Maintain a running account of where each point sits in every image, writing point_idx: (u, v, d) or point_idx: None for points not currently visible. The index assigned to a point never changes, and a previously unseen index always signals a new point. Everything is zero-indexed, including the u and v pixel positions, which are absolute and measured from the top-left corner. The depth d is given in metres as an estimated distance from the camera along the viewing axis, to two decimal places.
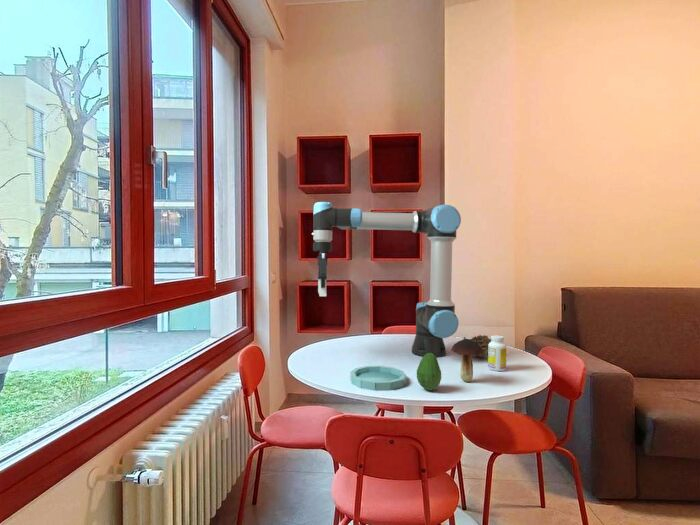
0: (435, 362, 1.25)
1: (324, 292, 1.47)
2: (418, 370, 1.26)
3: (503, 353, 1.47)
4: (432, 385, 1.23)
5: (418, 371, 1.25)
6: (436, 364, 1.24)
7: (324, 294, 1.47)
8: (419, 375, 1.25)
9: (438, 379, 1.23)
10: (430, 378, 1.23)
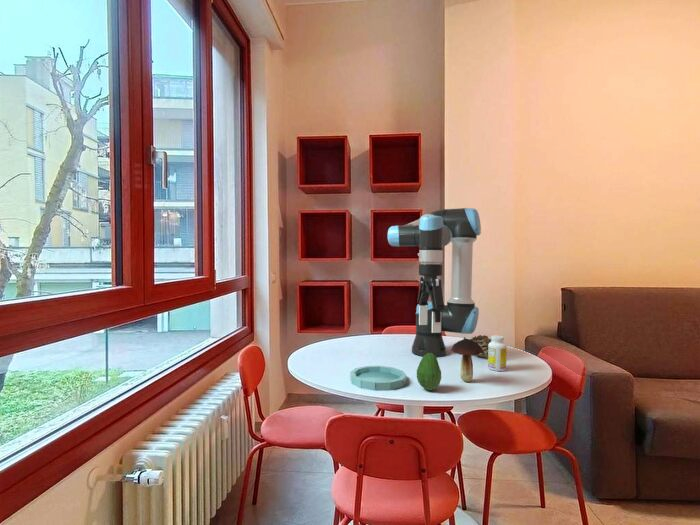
0: (435, 362, 1.25)
1: (438, 327, 1.19)
2: (418, 370, 1.26)
3: (503, 353, 1.47)
4: (432, 385, 1.23)
5: (418, 371, 1.25)
6: (436, 364, 1.24)
7: (438, 330, 1.19)
8: (419, 375, 1.25)
9: (438, 379, 1.23)
10: (430, 378, 1.23)
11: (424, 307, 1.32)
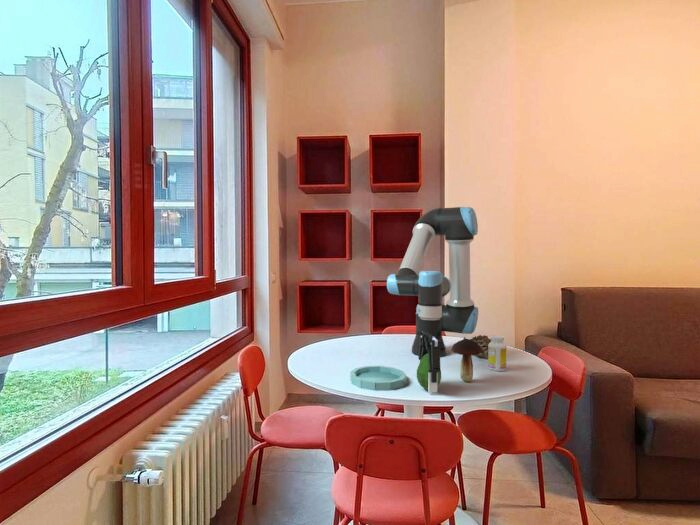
0: None
1: (435, 387, 1.22)
2: (418, 370, 1.26)
3: (503, 353, 1.47)
4: None
5: (418, 371, 1.25)
6: None
7: (435, 390, 1.22)
8: (419, 375, 1.25)
9: (438, 379, 1.23)
10: None
11: None
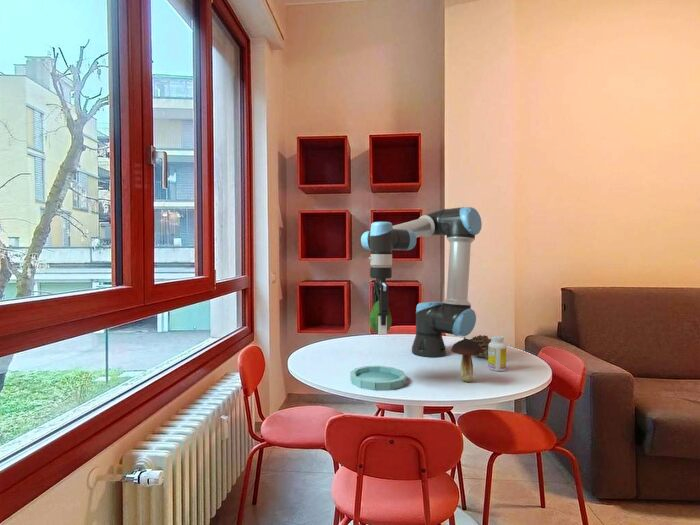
0: None
1: (384, 330, 1.30)
2: (370, 315, 1.33)
3: (503, 353, 1.47)
4: None
5: (370, 316, 1.33)
6: None
7: (384, 332, 1.30)
8: (370, 320, 1.32)
9: (388, 323, 1.31)
10: None
11: None
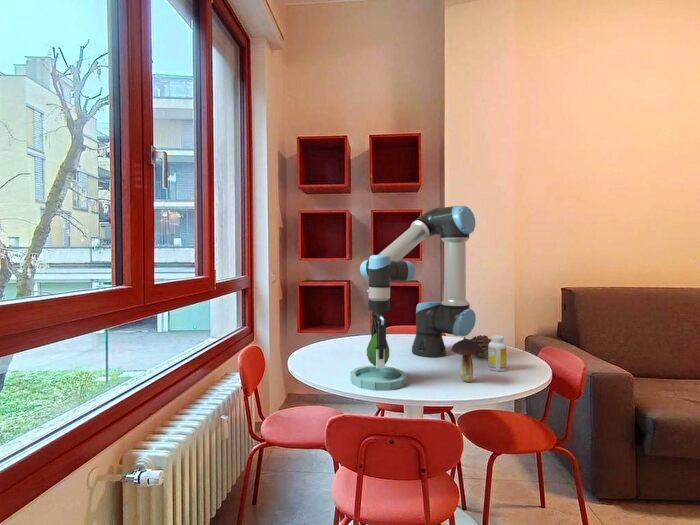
0: None
1: (382, 363, 1.30)
2: (368, 348, 1.34)
3: (503, 353, 1.47)
4: None
5: (368, 349, 1.34)
6: None
7: (382, 366, 1.30)
8: (368, 352, 1.33)
9: (385, 356, 1.32)
10: None
11: None
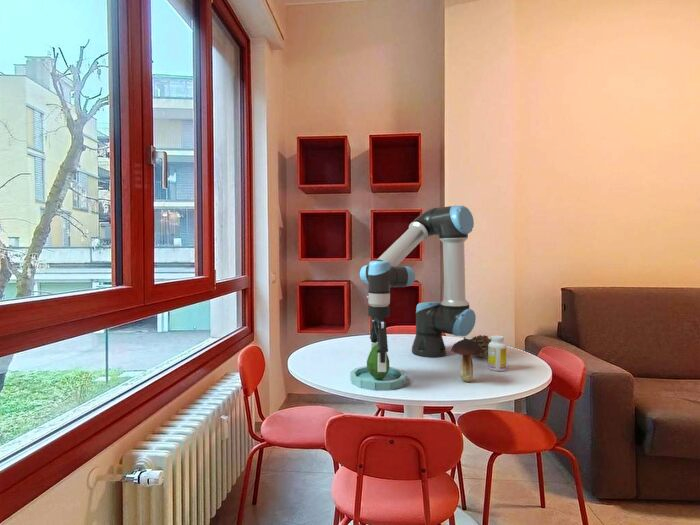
0: None
1: (384, 367, 1.28)
2: (368, 360, 1.34)
3: (503, 353, 1.47)
4: (380, 373, 1.31)
5: (368, 361, 1.34)
6: None
7: (384, 369, 1.28)
8: (368, 364, 1.33)
9: (386, 368, 1.32)
10: None
11: (375, 344, 1.41)
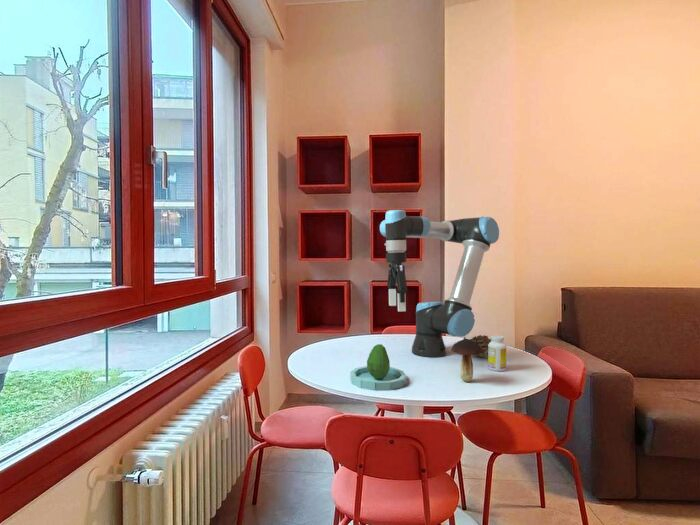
0: (383, 352, 1.33)
1: (403, 307, 1.38)
2: (368, 360, 1.34)
3: (503, 353, 1.47)
4: (380, 374, 1.31)
5: (368, 361, 1.34)
6: (384, 354, 1.33)
7: (403, 309, 1.38)
8: (368, 365, 1.33)
9: (386, 368, 1.32)
10: (378, 368, 1.31)
11: (393, 290, 1.51)
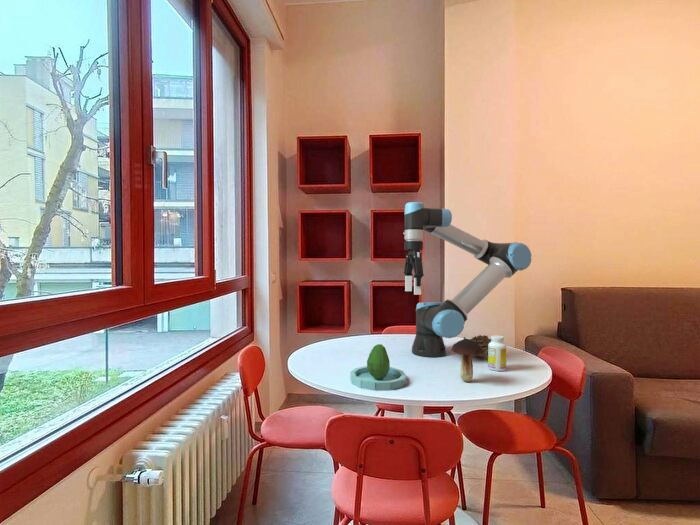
0: (383, 352, 1.33)
1: (419, 290, 1.50)
2: (368, 360, 1.34)
3: (503, 353, 1.47)
4: (380, 374, 1.31)
5: (368, 361, 1.34)
6: (384, 354, 1.33)
7: (419, 292, 1.50)
8: (368, 365, 1.33)
9: (386, 368, 1.32)
10: (378, 368, 1.31)
11: (409, 277, 1.64)
